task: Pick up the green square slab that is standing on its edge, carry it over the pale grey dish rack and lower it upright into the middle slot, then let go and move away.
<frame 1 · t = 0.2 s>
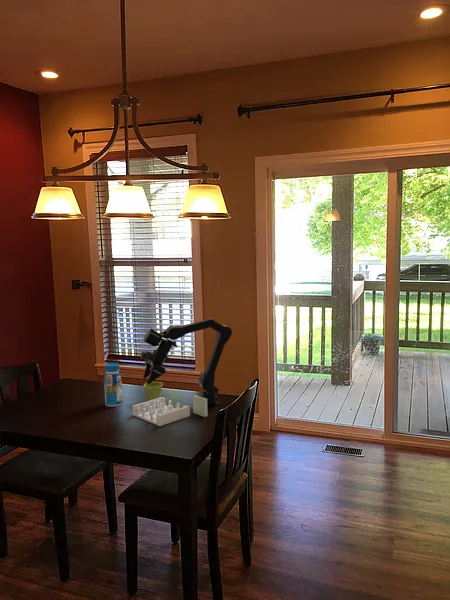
hand: (145, 381, 220), 15 cm above the table, tool tilted 30°, fingers open, 9 cm apart
plant pot: (153, 401, 236), on the table
beverage bottle: (113, 404, 233), on the table
dish rack: (161, 415, 216), on the table
green square slab: (200, 414, 217), on the table
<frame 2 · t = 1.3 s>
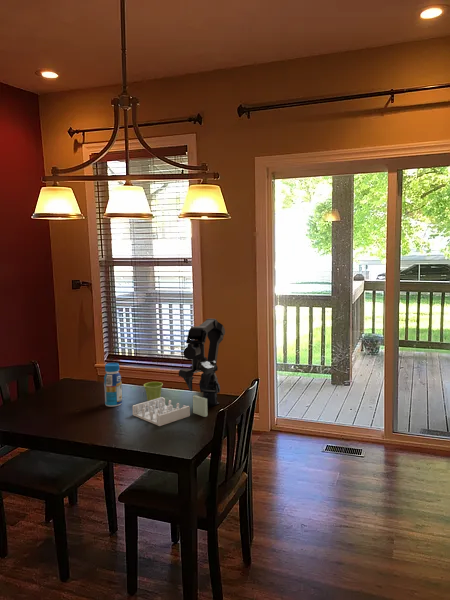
hand: (198, 388, 215), 12 cm above the table, tool pointing down, fingers open, 9 cm apart
nothing on the table moved.
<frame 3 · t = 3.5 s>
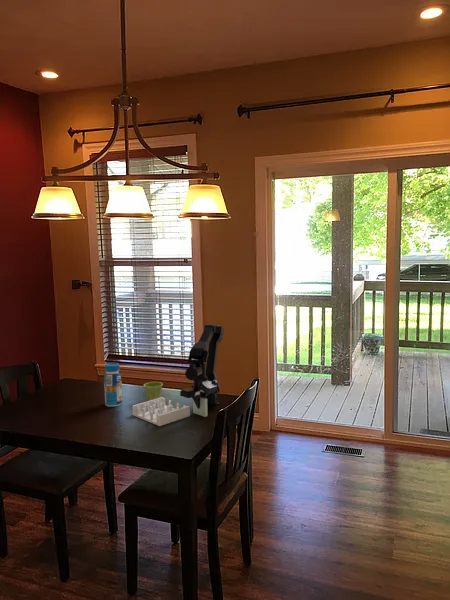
hand: (200, 407, 216), 3 cm above the table, tool pointing down, fingers closed on green square slab, 2 cm apart
green square slab: (200, 414, 217), on the table, touching gripper
everything else where it was.
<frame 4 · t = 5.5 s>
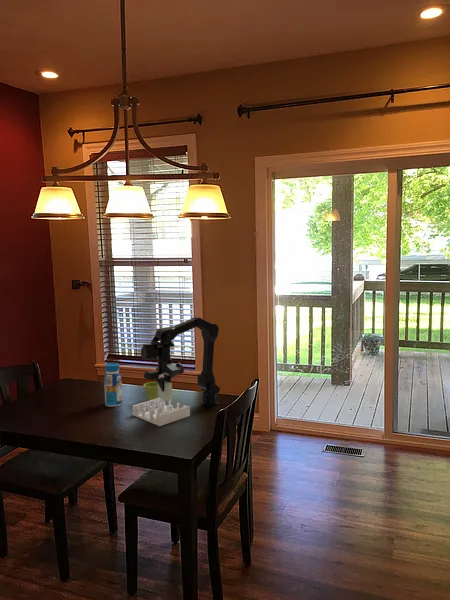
hand: (164, 391, 215), 11 cm above the table, tool pointing down, fingers closed on green square slab
green square slab: (165, 398, 215), point 8 cm above the table, touching gripper
everything else where it was.
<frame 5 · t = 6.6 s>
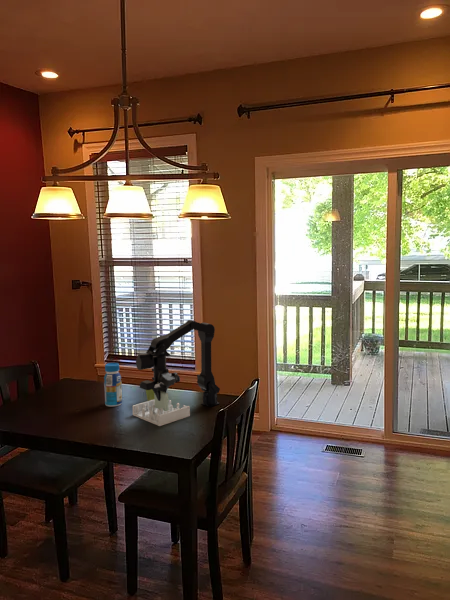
hand: (160, 400, 215), 7 cm above the table, tool pointing down, fingers closed on green square slab, 2 cm apart
green square slab: (161, 408, 216), point 3 cm above the table, touching gripper
everything else where it was.
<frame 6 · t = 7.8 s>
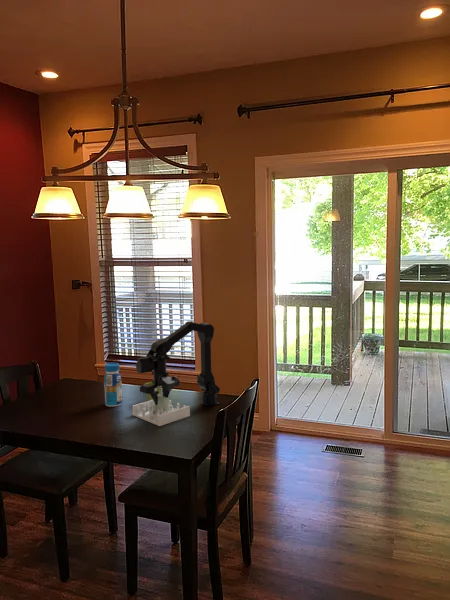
hand: (160, 403, 215), 5 cm above the table, tool pointing down, fingers open, 5 cm apart
green square slab: (161, 413, 216), point 1 cm above the table, touching dish rack
everything else where it was.
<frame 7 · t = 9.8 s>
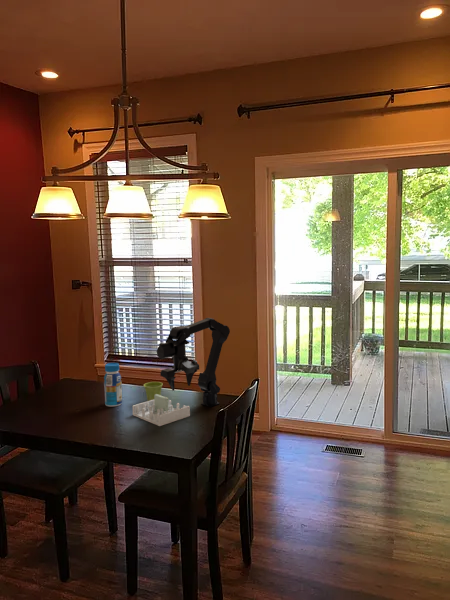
hand: (181, 387, 219), 12 cm above the table, tool pointing down, fingers open, 9 cm apart
nothing on the table moved.
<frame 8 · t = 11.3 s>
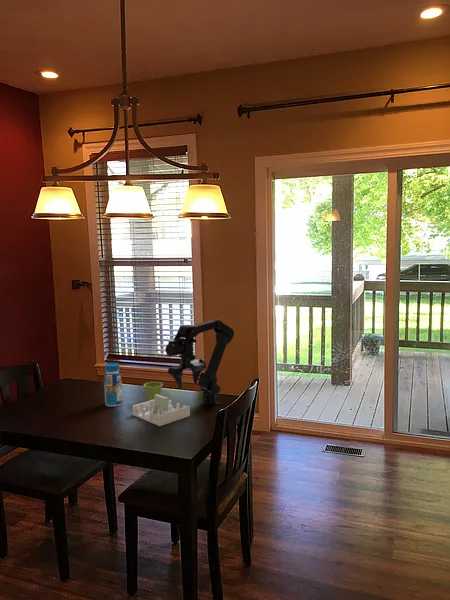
hand: (187, 386, 220), 12 cm above the table, tool pointing down, fingers open, 9 cm apart
nothing on the table moved.
at the end: green square slab 0.2 cm off-centre on the dish rack, point 1.0 cm above the dish rack's base; green square slab tilted 0°; the gripper is holding nothing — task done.
